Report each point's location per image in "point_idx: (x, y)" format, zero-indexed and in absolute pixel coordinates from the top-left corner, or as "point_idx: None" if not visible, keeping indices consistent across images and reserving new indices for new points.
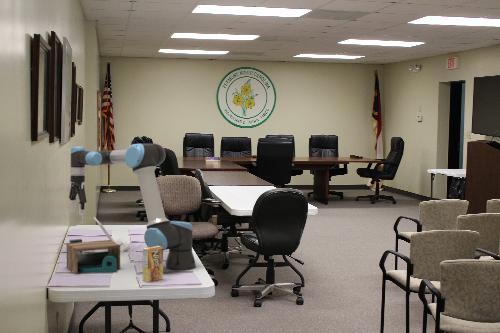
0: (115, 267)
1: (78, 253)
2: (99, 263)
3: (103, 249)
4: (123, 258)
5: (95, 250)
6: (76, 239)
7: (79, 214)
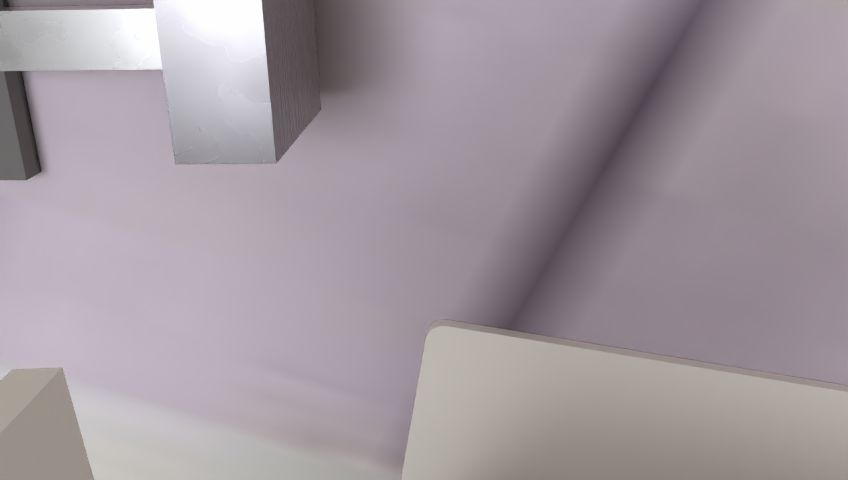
0: None
1: (24, 7)
2: None
3: (558, 446)
4: None
5: (547, 353)
6: (243, 81)
7: (24, 388)
